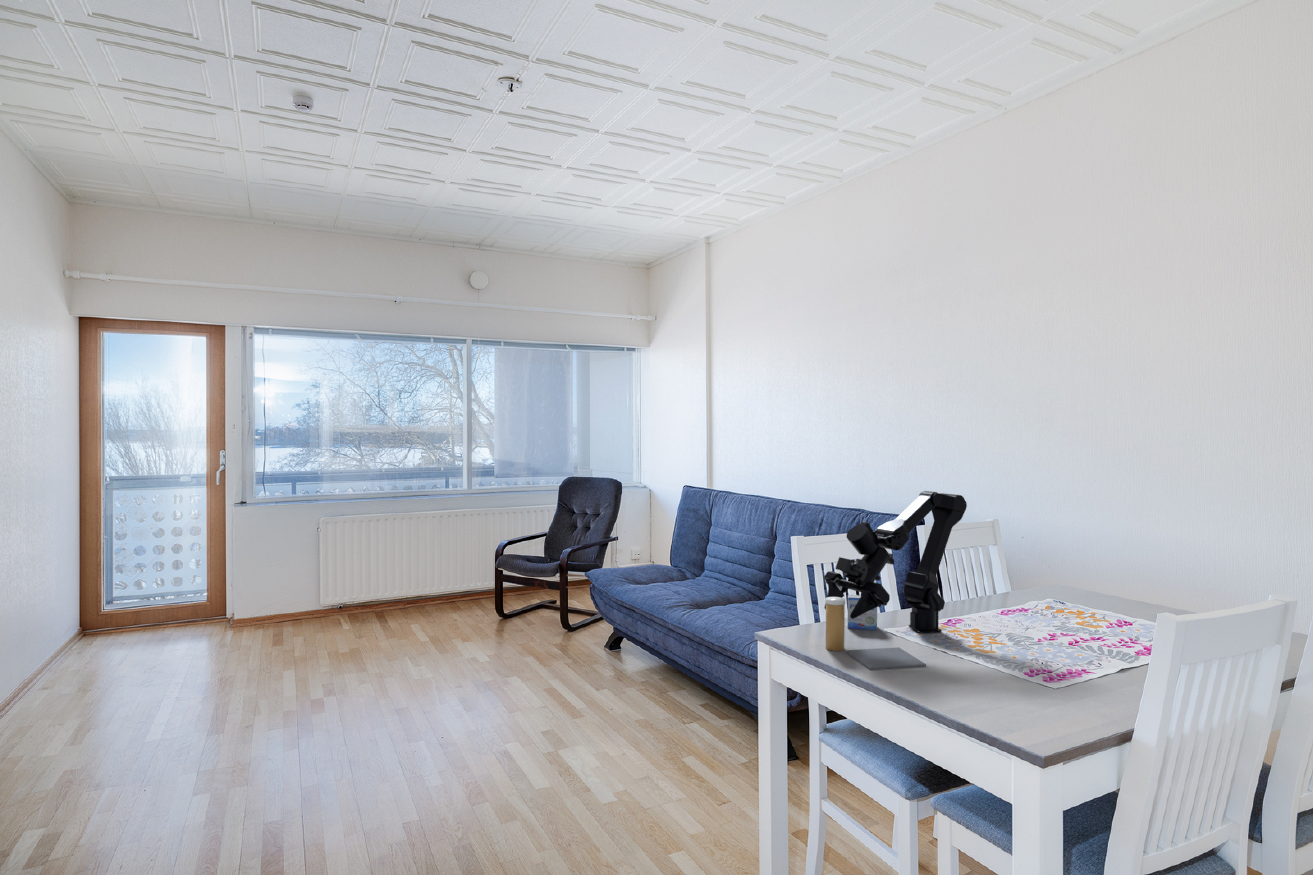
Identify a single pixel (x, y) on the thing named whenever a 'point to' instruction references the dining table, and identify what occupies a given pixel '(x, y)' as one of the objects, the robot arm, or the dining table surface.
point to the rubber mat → (885, 658)
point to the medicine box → (861, 616)
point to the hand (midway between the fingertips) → (838, 613)
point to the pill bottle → (835, 623)
